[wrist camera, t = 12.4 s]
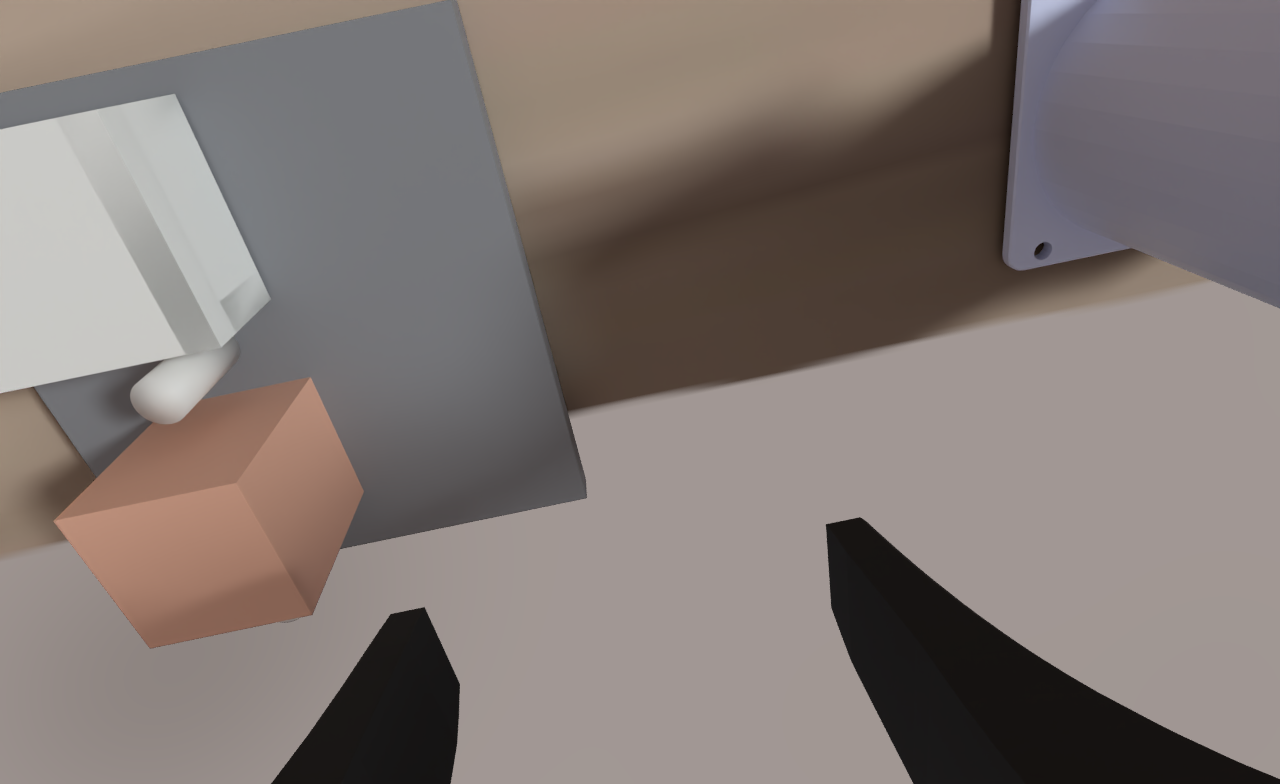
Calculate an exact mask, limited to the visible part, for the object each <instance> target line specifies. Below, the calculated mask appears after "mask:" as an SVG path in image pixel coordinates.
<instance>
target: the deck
mask: <svg viewBox="0 0 1280 784" xmlns="http://www.w3.org/2000/svg"><path fill="white" fill-rule="evenodd" d="M171 94H175V95H176V97H177V100H178V102H179V104H180V106H181V108H182V110H183V112H184V115H185V117H186V119H187V121H188V123H189V125H190V127H191V130H192V132H193V134H194V136H195V138H196V140H197V142H198V144H199V147H200V149H201V151H202V153H203V155H204V157H205V159H206V162H207V164H208V166H209V168H210V170H211V172H212V174H213V177H214V179H215V181H216V183H217V185H218V187H219V189H220V192H221V194H222V196H223V198H224V200H225V202H226V204H227V206H228V209H229V211H230V213H231V215H232V217H233V219H234V221H235V224H236V226H237V228H238V230H239V232H240V234H241V236H242V239H243V241H244V243H245V245H246V247H247V249H248V251H249V253H250V256H251V258H252V260H253V262H254V264H255V266H256V268H257V271H258V273H259V275H260V277H261V279H262V281H263V283H264V286H265V288H266V290H267V292H268V294H269V296H270V298H271V300H270V301H269V302H268V303H267V304H266V305H265V306H264V307H263V308H262V309H260V310H259V311H258V312H257V313H256V314H255V315H254V316H253V317H252V318H251V319H250V320H249V321H248V322H247V323H246V324H245V325H244V326H243V327H242V328H241V329H240V330H239V331H238V332H237V333H236V334H235V335H234V336H233V337H232V338H231V339H230V340H229V341H228V342H226V343H225V344H224V345H223V346H222V347H221V348H217V349H212V350H207V351H202V352H197V353H192V354H188V355H183V356H178V357H173V358H168V359H163V360H159V361H154V362H149V363H144V364H139V365H134V366H130V367H125V368H120V369H115V370H110V371H105V372H101V373H96V374H91V375H86V376H81V377H76V378H71V379H67V380H62V381H57V382H52V383H47V384H42V385H38V386H33V387H34V388H35V389H36V391H37V392H38V394H39V395H40V397H41V398H42V400H43V401H44V402H45V404H46V405H47V407H48V408H49V410H50V411H51V413H52V414H53V416H54V417H55V418H56V420H57V421H58V423H59V424H60V426H61V427H62V429H63V430H64V431H65V433H66V434H67V436H68V437H69V439H70V440H71V442H72V443H73V445H74V446H75V447H76V449H77V450H78V452H79V453H80V455H81V456H82V458H83V459H84V460H85V462H86V463H87V465H88V466H89V468H90V469H91V471H92V472H93V474H94V475H95V476H96V478H97V477H98V476H99V475H100V474H101V473H102V472H103V471H104V470H105V469H106V468H107V467H108V466H109V465H110V464H111V463H112V462H113V461H114V460H115V459H116V458H117V457H118V456H119V455H120V454H121V453H122V452H123V451H124V450H125V449H126V448H127V447H129V446H130V445H131V444H132V443H133V442H134V441H135V440H136V439H137V438H138V437H139V436H140V435H141V434H142V433H143V432H144V431H145V430H146V429H147V428H148V427H149V426H150V425H151V424H152V423H153V422H154V423H158V424H173V423H177V422H179V421H180V420H182V419H183V418H184V417H185V416H186V415H187V414H188V413H189V412H190V411H191V409H192V408H193V407H194V406H195V405H196V404H197V403H198V402H199V401H200V400H202V399H207V398H212V397H217V396H221V395H226V394H231V393H236V392H241V391H245V390H250V389H255V388H260V387H265V386H269V385H274V384H279V383H284V382H289V381H293V380H298V379H303V378H308V377H311V379H312V381H313V383H314V385H315V388H316V390H317V392H318V394H319V396H320V398H321V400H322V403H323V405H324V407H325V409H326V411H327V413H328V415H329V418H330V420H331V422H332V424H333V426H334V428H335V430H336V433H337V435H338V437H339V439H340V441H341V443H342V445H343V448H344V450H345V452H346V454H347V456H348V458H349V460H350V462H351V465H352V467H353V469H354V471H355V473H356V475H357V477H358V480H359V482H360V484H361V486H362V488H363V490H364V492H363V495H362V497H361V500H360V502H359V504H358V507H357V509H356V512H355V514H354V516H353V519H352V521H351V524H350V526H349V528H348V531H347V533H346V535H345V538H344V540H343V543H342V545H341V547H340V549H342V548H347V547H352V546H357V545H361V544H367V543H371V542H376V541H381V540H386V539H391V538H396V537H400V536H405V535H410V534H415V533H420V532H425V531H430V530H434V529H439V528H444V527H449V526H454V525H459V524H463V523H468V522H473V521H478V520H483V519H488V518H493V517H497V516H502V515H507V514H512V513H517V512H522V511H527V510H531V509H536V508H541V507H545V506H551V505H556V504H560V503H565V502H570V501H575V500H580V499H584V498H587V494H586V479H585V475H584V471H583V468H582V464H581V460H580V457H579V453H578V449H577V445H576V441H575V438H574V434H573V430H572V427H571V423H570V419H569V415H568V412H567V408H566V404H565V401H564V397H563V393H562V390H561V386H560V382H559V378H558V375H557V371H556V367H555V364H554V360H553V356H552V352H551V349H550V345H549V341H548V338H547V334H546V330H545V326H544V323H543V319H542V315H541V312H540V308H539V304H538V300H537V297H536V293H535V289H534V286H533V282H532V278H531V274H530V271H529V267H528V263H527V260H526V256H525V252H524V248H523V245H522V241H521V237H520V234H519V230H518V226H517V222H516V219H515V215H514V211H513V208H512V204H511V200H510V196H509V193H508V189H507V185H506V182H505V178H504V174H503V170H502V167H501V163H500V159H499V156H498V152H497V148H496V145H495V141H494V137H493V133H492V130H491V126H490V122H489V119H488V115H487V111H486V107H485V104H484V100H483V96H482V93H481V89H480V85H479V81H478V78H477V74H476V70H475V67H474V63H473V59H472V55H471V52H470V48H469V44H468V41H467V37H466V33H465V29H464V26H463V22H462V18H461V15H460V11H459V7H458V3H457V0H447V1H442V2H437V3H432V4H427V5H422V6H418V7H413V8H408V9H403V10H398V11H393V12H389V13H384V14H379V15H374V16H369V17H364V18H360V19H355V20H350V21H345V22H340V23H335V24H331V25H326V26H321V27H316V28H311V29H307V30H302V31H297V32H292V33H287V34H282V35H278V36H273V37H268V38H263V39H258V40H253V41H249V42H244V43H239V44H234V45H229V46H224V47H220V48H215V49H210V50H205V51H200V52H195V53H191V54H186V55H181V56H176V57H171V58H167V59H162V60H157V61H152V62H147V63H142V64H138V65H133V66H128V67H123V68H118V69H113V70H109V71H104V72H99V73H94V74H89V75H84V76H80V77H75V78H70V79H65V80H60V81H55V82H51V83H46V84H41V85H36V86H31V87H27V88H22V89H17V90H12V91H7V92H2V93H0V129H5V128H9V127H14V126H19V125H24V124H29V123H34V122H38V121H43V120H48V119H53V118H58V117H63V116H67V115H72V114H77V113H82V112H87V111H92V110H96V109H101V108H106V107H111V106H116V105H121V104H126V103H131V102H136V101H141V100H146V99H151V98H156V97H161V96H166V95H171ZM297 619H299V618H295V619H290V620H285V621H280V622H284V623H285V622H292V621H295V620H297Z"/></svg>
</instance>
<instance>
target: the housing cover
mask: <svg viewBox="0 0 1280 784" xmlns="http://www.w3.org/2000/svg"><path fill="white" fill-rule="evenodd" d="M270 300H271V298H270V296H269V294H268V292H267V290H266V288H265V286H264V283H263V281H262V279H261V277H260V275H259V273H258V271H257V268H256V266H255V264H254V262H253V260H252V258H251V256H250V253H249V251H248V249H247V247H246V245H245V243H244V241H243V239H242V236H241V234H240V232H239V230H238V228H237V226H236V224H235V221H234V219H233V217H232V215H231V213H230V211H229V209H228V206H227V204H226V202H225V200H224V198H223V196H222V194H221V192H220V189H219V187H218V185H217V183H216V181H215V179H214V177H213V174H212V172H211V170H210V168H209V166H208V164H207V162H206V159H205V157H204V155H203V153H202V151H201V149H200V147H199V144H198V142H197V140H196V138H195V136H194V134H193V132H192V130H191V127H190V125H189V123H188V121H187V119H186V117H185V115H184V112H183V110H182V108H181V106H180V104H179V102H178V100H177V97H176V95H175V94H171V95H166V96H161V97H156V98H151V99H146V100H141V101H136V102H131V103H126V104H121V105H116V106H111V107H106V108H101V109H96V110H92V111H87V112H82V113H77V114H72V115H67V116H63V117H58V118H53V119H48V120H43V121H38V122H34V123H29V124H24V125H19V126H14V127H9V128H5V129H0V393H4V392H9V391H13V390H18V389H23V388H28V387H33V386H38V385H42V384H47V383H52V382H57V381H62V380H67V379H71V378H76V377H81V376H86V375H91V374H96V373H101V372H105V371H110V370H115V369H120V368H125V367H130V366H134V365H139V364H144V363H149V362H154V361H159V360H163V359H168V358H173V357H178V356H183V355H188V354H192V353H197V352H202V351H207V350H212V349H217V348H221V347H222V346H223V345H224V344H225V343H226V342H228V341H229V340H230V339H231V338H232V337H233V336H234V335H235V334H236V333H237V332H238V331H239V330H240V329H241V328H242V327H243V326H244V325H245V324H246V323H247V322H248V321H249V320H250V319H251V318H252V317H253V316H254V315H255V314H256V313H257V312H258V311H259V310H260V309H262V308H263V307H264V306H265V305H266V304H267V303H268V302H269V301H270Z"/></svg>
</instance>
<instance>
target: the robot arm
mask: <svg viewBox="0 0 1280 784" xmlns="http://www.w3.org/2000/svg"><path fill="white" fill-rule="evenodd" d="M1043 242H1044V247H1043V249H1042V251H1041V252H1040V253H1039V254H1037V255H1035V256H1034V251H1035V249H1036V247H1037V246H1038V245H1039V244H1041V243H1043ZM1129 248H1133V249H1135V250H1138V251H1140V252H1143V253H1145V254H1148V255H1150V256H1153V257H1155V258H1158V259H1160V260H1162V261H1165V262H1167V263H1170V264H1172V265H1175V266H1177V267H1180V268H1182V269H1184V270H1187V271H1189V272H1192V273H1194V274H1197V275H1199V276H1202V277H1204V278H1207V279H1209V280H1211V281H1214V282H1216V283H1219V284H1221V285H1224V286H1226V287H1229V288H1231V289H1233V290H1236V291H1238V292H1241V293H1243V294H1246V295H1248V296H1251V297H1253V298H1256V299H1258V300H1260V301H1263V302H1265V303H1268V304H1270V305H1273V306H1275V307H1278V308H1280V0H1021V12H1020V26H1019V39H1018V52H1017V66H1016V79H1015V93H1014V106H1013V119H1012V133H1011V146H1010V159H1009V173H1008V186H1007V199H1006V213H1005V226H1004V240H1003V253H1002V255H1003V261H1004V262H1005V264H1006V265H1008V266H1009V267H1011V268H1013V269H1015V270H1028V269H1033V268H1037V267H1042V266H1047V265H1052V264H1057V263H1062V262H1066V261H1071V260H1076V259H1081V258H1086V257H1091V256H1096V255H1100V254H1105V253H1110V252H1115V251H1120V250H1125V249H1129ZM826 530H827V546H828V562H829V577H830V593H831V607H832V610H833V613H834V616H835V619H836V622H837V624H838V627H839V630H840V632H841V635H842V638H843V640H844V643H845V645H846V648H847V651H848V654H849V656H850V659H851V661H852V663H853V665H854V667H855V669H856V672H857V674H858V676H859V678H860V679H861V681H862V683H863V685H864V687H865V689H866V691H867V693H868V695H869V697H870V699H871V701H872V703H873V705H874V707H875V709H876V711H877V713H878V715H879V717H880V719H881V721H882V723H883V725H884V727H885V728H886V731H887V732H888V735H889V737H890V739H891V741H892V743H893V744H894V746H895V748H896V750H897V752H898V754H899V756H900V758H901V760H902V762H903V764H904V766H905V768H906V770H907V772H908V774H909V776H910V778H911V780H912V782H913V784H1280V779H1278V778H1276V777H1273V776H1271V775H1268V774H1266V773H1263V772H1261V771H1259V770H1256V769H1253V768H1251V767H1249V766H1246V765H1244V764H1242V763H1239V762H1237V761H1235V760H1233V759H1230V758H1228V757H1226V756H1224V755H1222V754H1220V753H1217V752H1215V751H1213V750H1211V749H1209V748H1207V747H1205V746H1202V745H1200V744H1198V743H1196V742H1194V741H1192V740H1190V739H1187V738H1185V737H1183V736H1181V735H1179V734H1177V733H1175V732H1173V731H1171V730H1169V729H1167V728H1165V727H1163V726H1161V725H1159V724H1157V723H1155V722H1153V721H1151V720H1149V719H1147V718H1146V717H1144V716H1142V715H1140V714H1138V713H1136V712H1134V711H1132V710H1130V709H1128V708H1127V707H1124V706H1123V705H1121V704H1119V703H1117V702H1115V701H1113V700H1111V699H1110V698H1108V697H1106V696H1104V695H1102V694H1100V693H1098V692H1096V691H1095V690H1093V689H1091V688H1090V687H1088V686H1086V685H1084V684H1083V683H1081V682H1079V681H1078V680H1076V679H1074V678H1072V677H1071V676H1069V675H1067V674H1066V673H1064V672H1062V671H1061V670H1059V669H1058V668H1056V667H1054V666H1053V665H1051V664H1050V663H1048V662H1046V661H1044V660H1043V659H1041V658H1040V657H1038V656H1037V655H1035V654H1034V653H1032V652H1031V651H1029V650H1028V649H1026V648H1025V647H1023V646H1022V645H1020V644H1019V643H1017V642H1016V641H1014V640H1013V639H1011V638H1010V637H1008V636H1007V635H1006V634H1004V633H1003V632H1001V631H1000V630H998V629H997V628H996V627H994V626H993V625H991V624H990V623H989V622H987V621H986V620H984V619H983V618H982V617H980V616H979V615H978V614H976V613H975V612H974V611H972V610H971V609H970V608H968V607H967V606H966V605H964V604H963V603H962V602H960V601H959V600H958V599H957V598H955V597H954V596H953V595H952V594H950V593H949V592H948V591H946V590H945V589H944V588H943V587H942V586H940V585H939V584H938V583H936V582H935V581H934V580H933V579H931V578H930V577H929V576H928V575H927V574H925V573H924V572H923V571H922V570H920V569H919V568H918V567H917V566H916V565H915V564H913V563H912V562H911V561H910V560H909V559H908V558H906V557H905V556H904V555H903V554H902V553H901V552H900V551H898V550H897V549H896V548H895V547H894V546H893V545H892V544H891V543H889V542H888V541H887V540H886V539H885V538H884V537H883V536H882V535H881V534H879V533H878V532H877V531H876V530H875V529H874V528H873V527H872V526H871V525H870V524H869V523H867V522H866V521H865V520H863V519H862V518H855V519H850V520H846V521H840V522H836V523H831V524H826ZM459 694H460V684H459V682H458V679H457V677H456V675H455V673H454V670H453V668H452V666H451V664H450V662H449V660H448V658H447V655H446V653H445V651H444V649H443V647H442V644H441V642H440V640H439V638H438V636H437V633H436V631H435V629H434V627H433V625H432V623H431V620H430V618H429V616H428V614H427V612H426V610H425V608H418V609H414V610H409V611H404V612H399V613H394V614H391V615H390V616H389V618H388V619H387V620H386V622H385V623H384V625H383V626H382V628H381V629H380V630H379V632H378V634H377V635H376V636H375V638H374V639H373V641H372V642H371V644H370V645H369V647H368V648H367V650H366V651H365V653H364V654H363V656H362V657H361V659H360V661H359V662H358V663H357V665H356V666H355V668H354V669H353V671H352V672H351V674H350V675H349V677H348V678H347V680H346V682H345V683H344V684H343V686H342V687H341V689H340V691H339V692H338V693H337V694H336V696H335V698H334V699H333V700H332V702H331V703H330V704H329V706H328V707H327V709H326V710H325V712H324V713H323V714H322V716H321V717H320V719H319V720H318V722H317V723H316V725H315V726H314V727H313V729H312V730H311V732H310V733H309V734H308V736H307V737H306V738H305V740H304V741H303V742H302V744H301V745H300V746H299V748H298V749H297V750H296V752H295V753H294V754H293V756H292V757H291V758H290V760H289V761H288V762H287V764H286V765H285V766H284V768H283V769H282V770H281V772H280V773H279V775H277V777H276V778H275V780H274V781H273V782H272V783H271V784H450V783H451V777H452V771H453V765H454V759H455V753H456V747H457V736H458V719H459Z"/></svg>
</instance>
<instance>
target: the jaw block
mask: <svg viewBox="0 0 1280 784" xmlns="http://www.w3.org/2000/svg"><path fill="white" fill-rule="evenodd" d="M363 492H364V490H363V488H362V486H361V484H360V482H359V480H358V477H357V475H356V473H355V471H354V469H353V467H352V465H351V462H350V460H349V458H348V456H347V454H346V452H345V450H344V448H343V445H342V443H341V441H340V439H339V437H338V435H337V433H336V430H335V428H334V426H333V424H332V422H331V420H330V418H329V415H328V413H327V411H326V409H325V407H324V405H323V403H322V400H321V398H320V396H319V394H318V392H317V390H316V388H315V385H314V383H313V381H312V379H311V377H308V378H303V379H298V380H293V381H289V382H284V383H279V384H274V385H269V386H265V387H260V388H255V389H250V390H245V391H241V392H236V393H231V394H226V395H221V396H217V397H212V398H207V399H202V400H200V401H199V402H198V403H197V404H196V405H195V406H194V407H193V408H192V409H191V411H190V412H189V413H188V414H187V415H186V416H185V417H184V418H183V419H182V420H180V421H179V422H177V423H173V424H158V423H154V422H153V423H152V424H151V425H150V426H149V427H148V428H147V429H146V430H145V431H144V432H143V433H142V434H141V435H140V436H139V437H138V438H137V439H136V440H135V441H134V442H133V443H132V444H131V445H130V446H129V447H127V448H126V449H125V450H124V451H123V452H122V453H121V454H120V455H119V456H118V457H117V458H116V459H115V460H114V461H113V462H112V463H111V464H110V465H109V466H108V467H107V468H106V469H105V470H104V471H103V472H102V473H101V474H100V475H99V476H98V477H97V478H96V479H95V480H94V481H93V482H92V483H91V484H90V485H89V486H88V487H87V488H86V489H85V490H84V491H83V492H82V493H81V494H80V495H79V496H78V497H77V498H76V499H75V500H74V501H73V502H72V503H71V504H70V505H69V506H68V507H67V508H66V509H65V510H64V511H63V512H62V513H61V514H60V515H59V516H58V517H57V518H56V519H55V520H54V522H55V524H56V525H57V526H58V528H59V529H60V530H61V532H62V533H63V534H64V536H65V537H66V538H67V540H68V541H69V542H70V544H71V545H72V546H73V548H74V549H75V550H76V551H77V553H78V554H79V555H80V556H81V558H82V559H83V561H84V562H85V563H86V565H87V566H88V567H89V569H90V570H91V571H92V573H93V574H94V575H95V576H96V578H97V579H98V581H99V582H100V583H101V584H102V586H103V587H104V588H105V590H106V591H107V592H108V594H109V595H110V596H111V598H112V599H113V600H114V602H115V603H116V604H117V606H118V607H119V608H120V610H121V611H122V612H123V614H124V615H125V616H126V618H127V619H128V620H129V621H130V623H131V624H132V625H133V627H134V628H135V629H136V631H137V632H138V633H139V635H140V636H141V637H142V639H143V640H144V641H145V642H146V644H147V645H148V647H149V648H155V647H160V646H165V645H170V644H174V643H179V642H184V641H189V640H194V639H199V638H203V637H208V636H213V635H218V634H223V633H227V632H232V631H237V630H242V629H247V628H252V627H256V626H261V625H266V624H271V623H275V622H280V621H285V620H290V619H295V618H300V617H304V616H309V615H312V614H313V612H314V609H315V607H316V605H317V602H318V600H319V598H320V595H321V593H322V590H323V588H324V586H325V583H326V581H327V578H328V576H329V574H330V571H331V569H332V567H333V564H334V562H335V559H336V557H337V554H338V552H339V550H340V547H341V545H342V543H343V540H344V538H345V535H346V533H347V531H348V528H349V526H350V524H351V521H352V519H353V516H354V514H355V512H356V509H357V507H358V504H359V502H360V500H361V497H362V495H363Z"/></svg>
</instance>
